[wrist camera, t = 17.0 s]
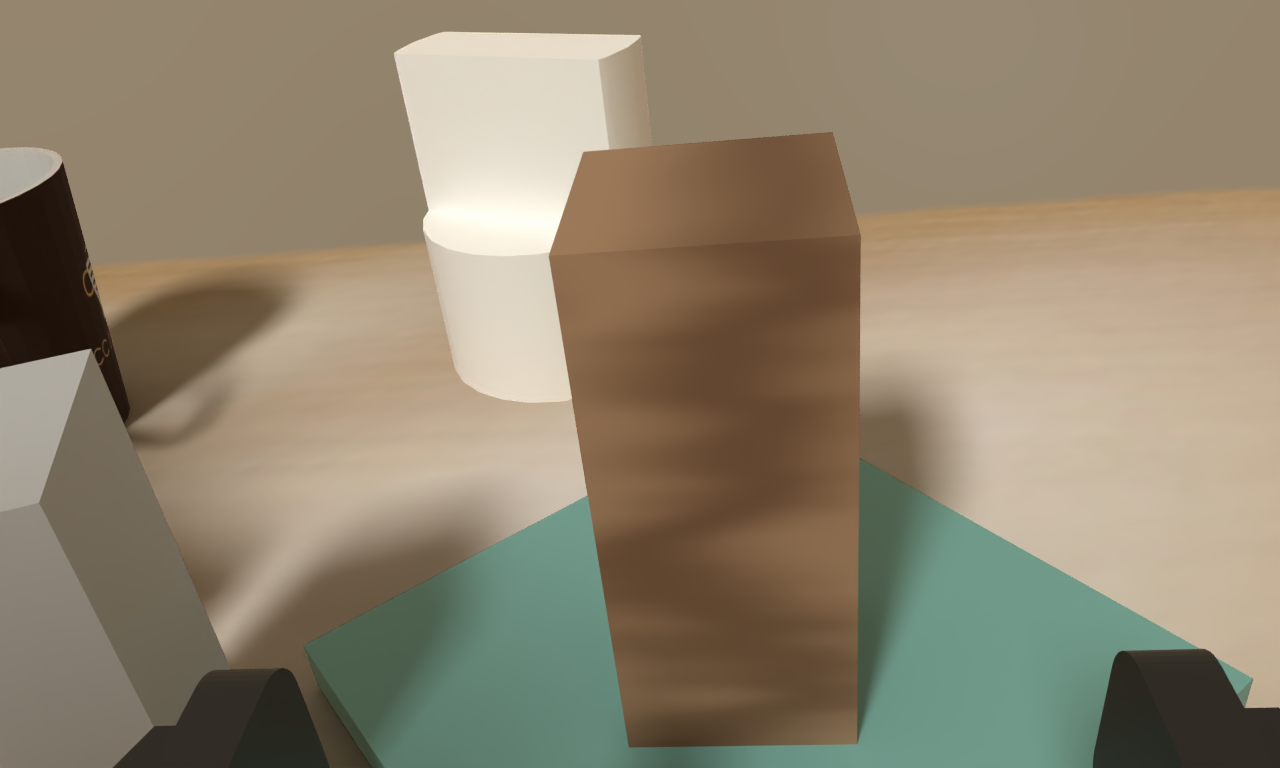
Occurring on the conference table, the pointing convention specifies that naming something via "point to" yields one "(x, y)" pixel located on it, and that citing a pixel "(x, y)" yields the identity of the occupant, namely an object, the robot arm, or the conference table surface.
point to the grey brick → (86, 578)
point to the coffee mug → (48, 270)
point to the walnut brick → (720, 432)
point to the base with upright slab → (511, 183)
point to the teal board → (604, 764)
